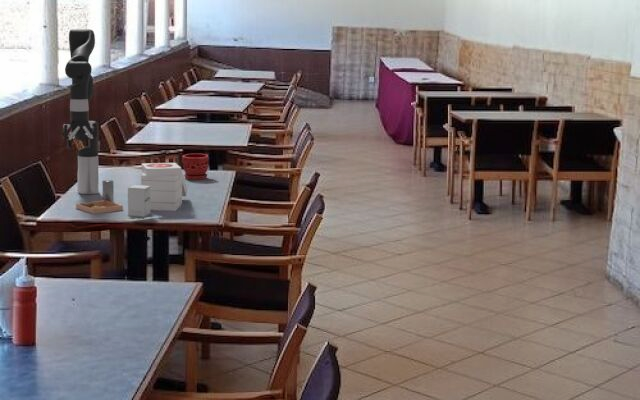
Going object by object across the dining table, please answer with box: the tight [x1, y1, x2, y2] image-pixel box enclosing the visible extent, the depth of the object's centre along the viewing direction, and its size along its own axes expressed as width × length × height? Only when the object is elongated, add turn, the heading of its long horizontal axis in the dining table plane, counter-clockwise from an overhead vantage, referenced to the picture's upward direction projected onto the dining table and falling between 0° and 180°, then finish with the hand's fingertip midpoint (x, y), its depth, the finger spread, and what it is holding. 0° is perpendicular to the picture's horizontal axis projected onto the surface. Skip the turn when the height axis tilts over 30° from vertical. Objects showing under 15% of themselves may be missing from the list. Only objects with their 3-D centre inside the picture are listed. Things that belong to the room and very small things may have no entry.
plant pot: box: [181, 153, 210, 181], centre depth 510 cm, size 13×13×12 cm
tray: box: [75, 199, 124, 215], centre depth 424 cm, size 14×14×3 cm
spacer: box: [102, 179, 115, 203], centre depth 435 cm, size 5×5×11 cm
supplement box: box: [127, 184, 151, 220], centre depth 415 cm, size 7×7×13 cm
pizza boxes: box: [140, 162, 188, 212], centre depth 442 cm, size 19×30×18 cm, turn 177°
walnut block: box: [80, 201, 94, 208], centre depth 423 cm, size 4×4×2 cm
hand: (80, 148), depth 424 cm, fingers open, 8 cm apart
